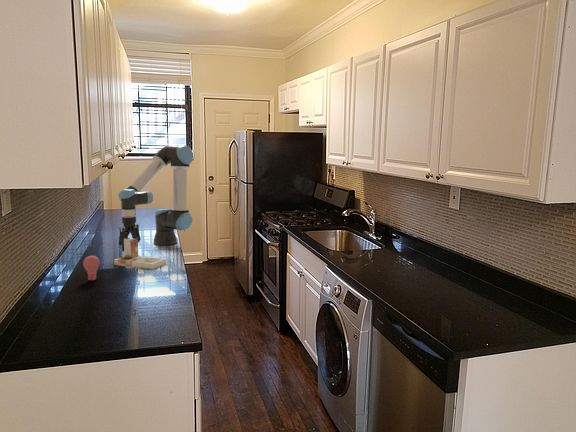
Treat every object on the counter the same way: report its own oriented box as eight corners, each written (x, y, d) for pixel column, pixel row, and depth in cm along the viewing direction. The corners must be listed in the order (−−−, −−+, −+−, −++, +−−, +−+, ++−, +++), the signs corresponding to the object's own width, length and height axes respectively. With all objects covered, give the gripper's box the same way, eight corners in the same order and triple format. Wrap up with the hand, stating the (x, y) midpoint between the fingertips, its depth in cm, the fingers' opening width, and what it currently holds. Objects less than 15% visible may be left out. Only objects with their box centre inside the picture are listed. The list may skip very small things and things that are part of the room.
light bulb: (93, 277, 213) (92, 253, 212) (103, 279, 210) (102, 255, 208) (81, 281, 207) (79, 256, 205) (91, 283, 204) (89, 258, 202)
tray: (146, 261, 243) (145, 256, 243) (166, 264, 239) (165, 258, 239) (131, 267, 232) (131, 261, 232) (152, 269, 228) (152, 264, 228)
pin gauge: (127, 262, 241) (126, 237, 239) (132, 263, 240) (131, 238, 238) (123, 264, 238) (122, 238, 236) (128, 264, 237) (127, 239, 235)
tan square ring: (126, 260, 245) (126, 255, 245) (141, 262, 242) (141, 257, 242) (114, 264, 236) (114, 259, 236) (129, 266, 233) (129, 261, 232)
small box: (131, 259, 248) (130, 241, 247) (122, 258, 249) (121, 240, 248) (138, 256, 256) (138, 238, 255) (130, 255, 257) (129, 237, 256)
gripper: (135, 213, 260) (137, 250, 264) (110, 218, 240) (112, 258, 244) (146, 214, 258) (147, 251, 261) (121, 219, 238) (123, 259, 241)
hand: (130, 254), depth 253 cm, fingers closed on small box, 8 cm apart
